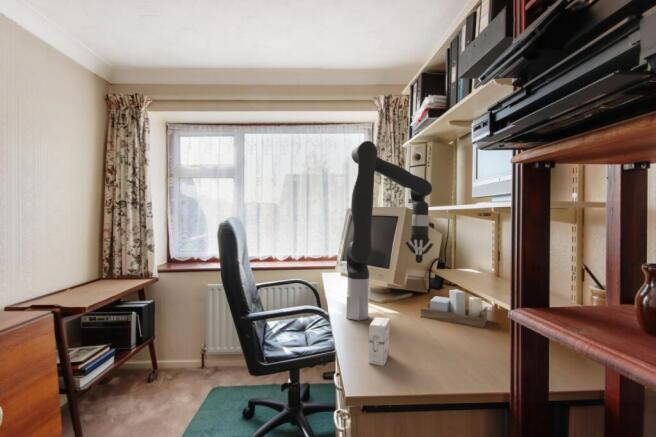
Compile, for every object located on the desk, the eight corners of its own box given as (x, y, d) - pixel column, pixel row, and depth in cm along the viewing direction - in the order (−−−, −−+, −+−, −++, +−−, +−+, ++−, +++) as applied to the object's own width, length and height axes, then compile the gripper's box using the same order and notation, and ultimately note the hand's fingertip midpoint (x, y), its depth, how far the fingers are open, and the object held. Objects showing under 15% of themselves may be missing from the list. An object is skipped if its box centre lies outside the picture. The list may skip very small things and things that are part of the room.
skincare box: (465, 321, 138) (466, 292, 138) (455, 321, 137) (456, 292, 137) (457, 316, 144) (458, 289, 144) (448, 316, 143) (449, 289, 143)
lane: (483, 329, 130) (484, 314, 130) (420, 317, 143) (421, 303, 143) (487, 321, 140) (487, 307, 140) (428, 310, 153) (428, 298, 153)
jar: (480, 324, 134) (481, 300, 134) (467, 322, 136) (468, 298, 136) (482, 321, 138) (482, 297, 138) (469, 319, 141) (470, 296, 141)
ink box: (374, 352, 106) (375, 316, 106) (389, 354, 105) (390, 318, 104) (367, 363, 98) (368, 324, 98) (384, 366, 96) (385, 326, 96)
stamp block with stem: (446, 319, 139) (446, 303, 139) (418, 314, 145) (418, 298, 145) (451, 313, 147) (451, 298, 147) (424, 309, 153) (424, 294, 153)
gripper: (403, 224, 150) (402, 262, 150) (432, 225, 143) (431, 265, 143) (408, 224, 156) (407, 260, 156) (436, 225, 149) (435, 263, 149)
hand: (419, 262), depth 150 cm, fingers closed
